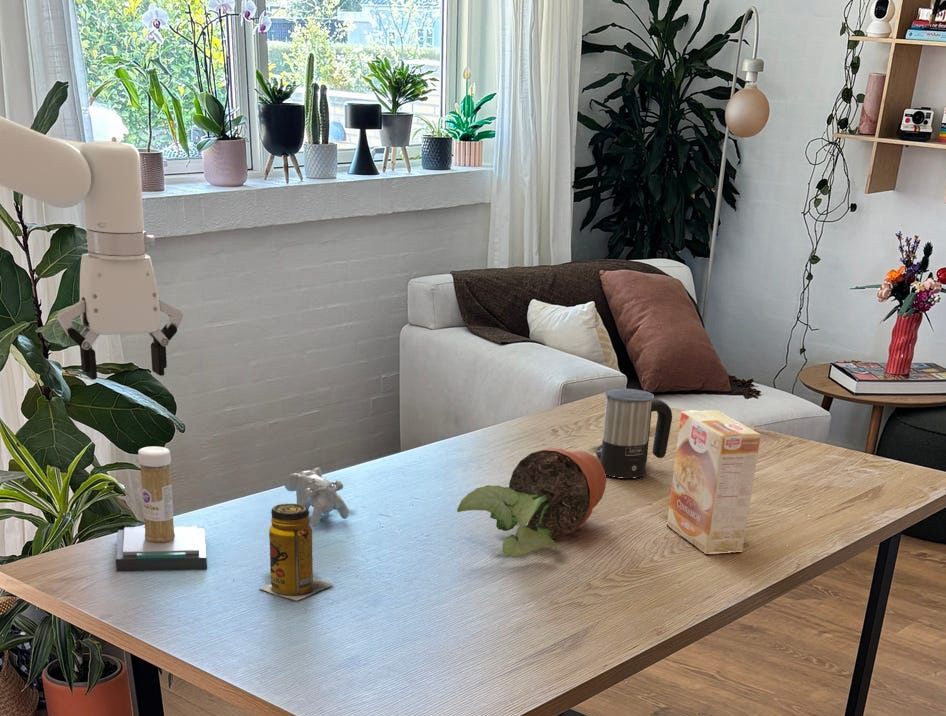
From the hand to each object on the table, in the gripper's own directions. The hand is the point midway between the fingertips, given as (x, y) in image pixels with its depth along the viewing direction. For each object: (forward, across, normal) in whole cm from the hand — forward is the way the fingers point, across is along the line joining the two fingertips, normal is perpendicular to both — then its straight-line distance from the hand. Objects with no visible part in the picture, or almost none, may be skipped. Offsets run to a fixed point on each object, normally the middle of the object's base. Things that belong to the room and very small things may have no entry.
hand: (125, 375), depth 183 cm
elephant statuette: (+26, -31, -6) cm, 41 cm away
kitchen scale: (+26, -3, +1) cm, 27 cm away
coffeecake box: (+25, -87, +29) cm, 95 cm away
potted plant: (+26, -59, +20) cm, 68 cm away
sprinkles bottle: (+24, -3, +1) cm, 24 cm away
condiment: (+26, -16, +22) cm, 38 cm away
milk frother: (+25, -99, -11) cm, 103 cm away
